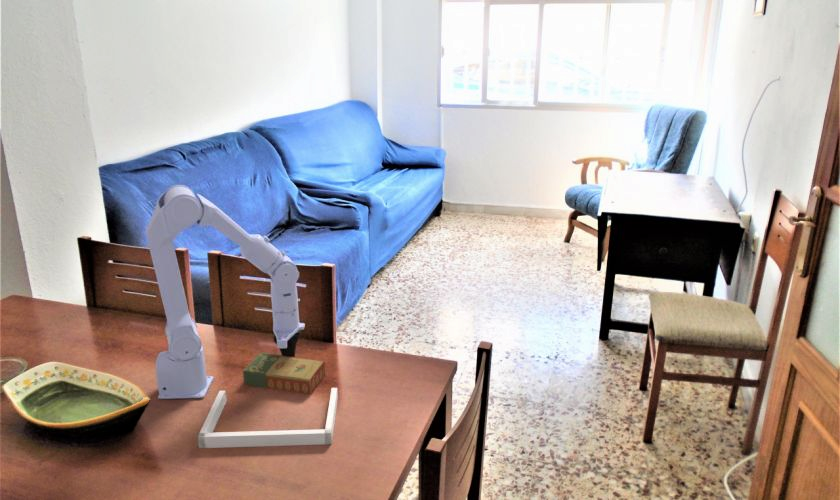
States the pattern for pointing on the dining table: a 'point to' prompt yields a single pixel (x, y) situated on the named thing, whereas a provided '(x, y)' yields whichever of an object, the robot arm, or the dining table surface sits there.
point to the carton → (284, 373)
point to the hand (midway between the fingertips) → (289, 360)
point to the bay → (264, 437)
